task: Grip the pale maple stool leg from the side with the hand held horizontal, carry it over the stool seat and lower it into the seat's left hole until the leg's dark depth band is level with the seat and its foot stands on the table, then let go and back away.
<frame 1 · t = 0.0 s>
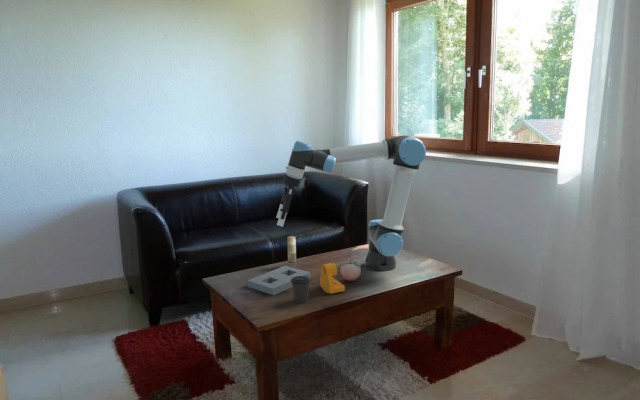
hand: (279, 222, 214), 28 cm above the table, tool tilted 20°, fingers open, 13 cm apart
decorative fruit: (350, 282, 217), on the table
maple leg: (292, 266, 239), on the table
bracket: (332, 290, 209), on the table
stool seat: (279, 282, 218), on the table
coffee cup: (301, 301, 198), on the table
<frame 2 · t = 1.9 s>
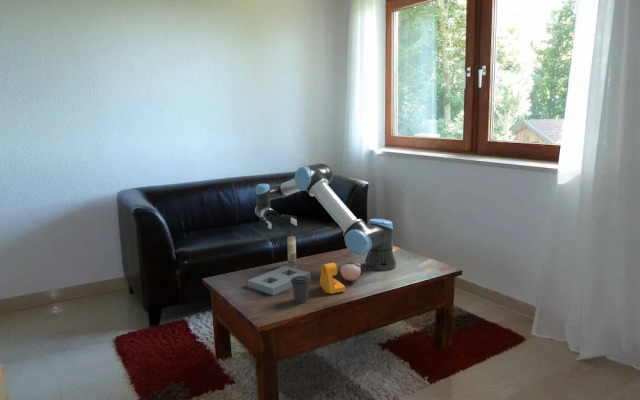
hand: (283, 224, 243), 19 cm above the table, tool horizontal, fingers open, 13 cm apart
nothing on the table moved.
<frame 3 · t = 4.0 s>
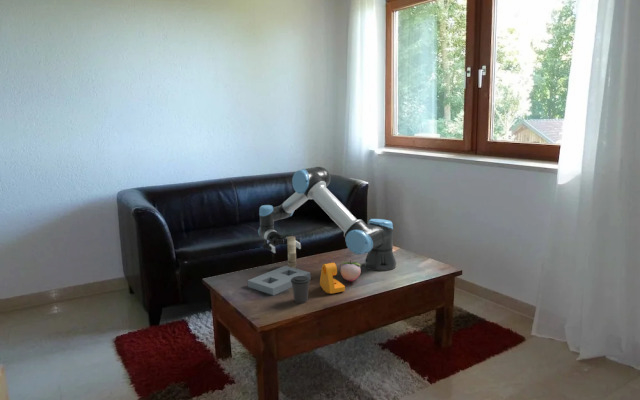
hand: (287, 248, 241), 8 cm above the table, tool horizontal, fingers open, 13 cm apart
nothing on the table moved.
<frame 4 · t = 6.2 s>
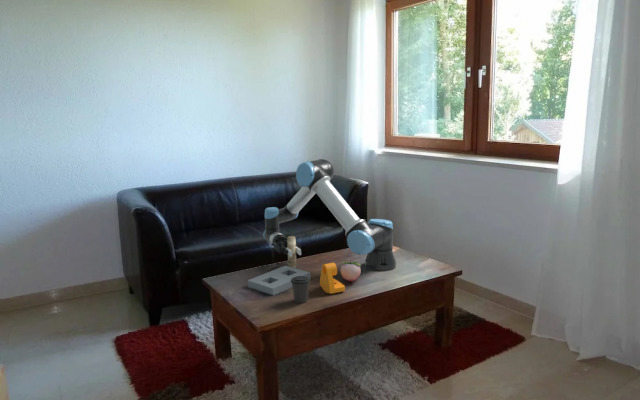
hand: (295, 253, 232), 9 cm above the table, tool horizontal, fingers closed on maple leg, 4 cm apart
maple leg: (292, 266, 239), on the table, touching gripper
everything else where it was.
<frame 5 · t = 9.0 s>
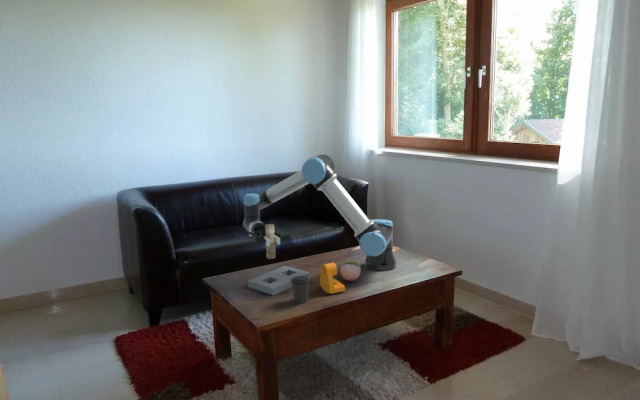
hand: (274, 242, 210), 20 cm above the table, tool horizontal, fingers closed on maple leg, 4 cm apart
maple leg: (271, 257, 217), point 12 cm above the table, touching gripper
everything else where it was.
when the fingers open (9 cm above the table, at t = 12.0 s): maple leg stays where it is, resting in stool seat.
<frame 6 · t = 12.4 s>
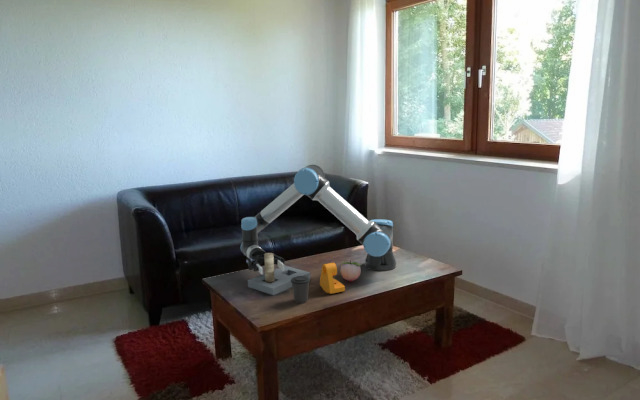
hand: (272, 269, 208), 9 cm above the table, tool horizontal, fingers open, 9 cm apart
maple leg: (270, 286, 214), resting in stool seat
everything else where it was.
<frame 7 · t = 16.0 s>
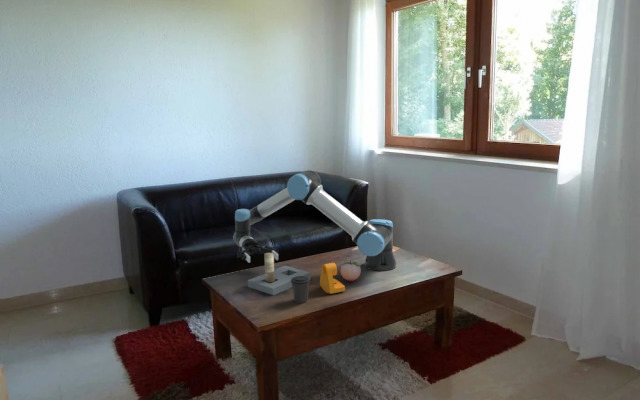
hand: (263, 258, 221), 10 cm above the table, tool horizontal, fingers open, 13 cm apart
nothing on the table moved.
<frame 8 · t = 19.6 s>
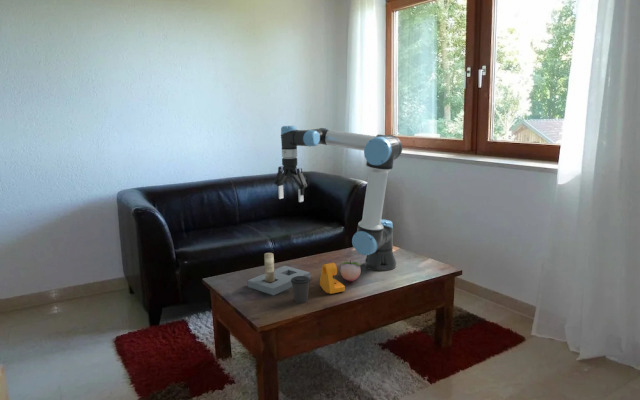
hand: (291, 200, 241), 32 cm above the table, tool pointing down, fingers open, 13 cm apart
nothing on the table moved.
at the end: maple leg 0.1 cm from the target spot on the stool seat, point 0.0 cm above the stool seat's base; maple leg tilted 0°; the gripper is holding nothing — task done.
